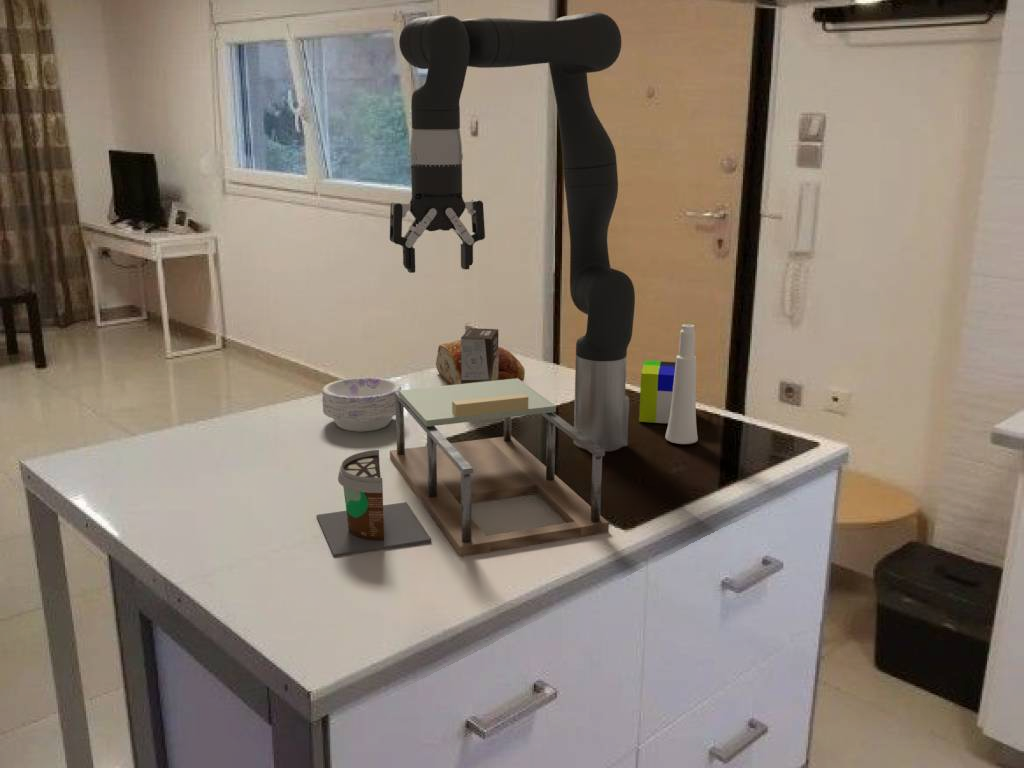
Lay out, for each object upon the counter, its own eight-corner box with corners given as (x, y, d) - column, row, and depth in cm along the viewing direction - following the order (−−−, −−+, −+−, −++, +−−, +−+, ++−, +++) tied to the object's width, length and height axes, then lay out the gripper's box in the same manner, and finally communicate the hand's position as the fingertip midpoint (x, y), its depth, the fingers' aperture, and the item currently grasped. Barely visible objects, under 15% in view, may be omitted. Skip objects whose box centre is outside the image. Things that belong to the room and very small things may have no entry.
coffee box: (492, 416, 191) (491, 338, 186) (460, 414, 191) (460, 337, 187) (498, 402, 199) (498, 328, 195) (469, 401, 200) (468, 327, 196)
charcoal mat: (406, 505, 148) (406, 502, 147) (431, 542, 135) (431, 539, 135) (316, 518, 143) (316, 514, 143) (333, 558, 130) (333, 554, 130)
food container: (340, 512, 143) (337, 450, 141) (381, 509, 145) (378, 448, 142) (340, 548, 132) (337, 481, 129) (384, 545, 133) (382, 479, 130)
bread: (435, 373, 221) (434, 332, 219) (509, 368, 226) (510, 327, 223) (452, 398, 202) (451, 353, 200) (533, 392, 207) (534, 348, 204)
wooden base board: (511, 443, 175) (511, 435, 175) (608, 531, 139) (608, 522, 138) (390, 458, 167) (389, 450, 167) (459, 556, 131) (459, 546, 130)
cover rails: (509, 437, 173) (509, 379, 170) (602, 522, 139) (605, 450, 135) (395, 451, 166) (393, 391, 163) (464, 544, 131) (463, 469, 128)
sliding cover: (517, 383, 167) (517, 367, 166) (556, 411, 151) (556, 394, 151) (398, 395, 159) (398, 378, 158) (426, 426, 144) (425, 408, 143)
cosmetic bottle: (704, 440, 177) (712, 326, 171) (681, 446, 174) (688, 330, 168) (681, 431, 182) (688, 320, 176) (658, 437, 179) (664, 324, 172)
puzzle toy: (689, 425, 186) (692, 376, 183) (639, 421, 188) (641, 373, 185) (690, 409, 195) (693, 363, 193) (642, 406, 197) (644, 360, 195)
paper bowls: (383, 408, 195) (381, 371, 193) (415, 429, 183) (414, 390, 180) (312, 420, 187) (310, 382, 185) (340, 443, 175) (338, 402, 173)
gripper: (474, 159, 145) (474, 264, 149) (383, 160, 140) (386, 269, 144) (490, 161, 138) (490, 271, 142) (395, 163, 133) (398, 277, 138)
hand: (438, 270), depth 143 cm, fingers open, 8 cm apart
